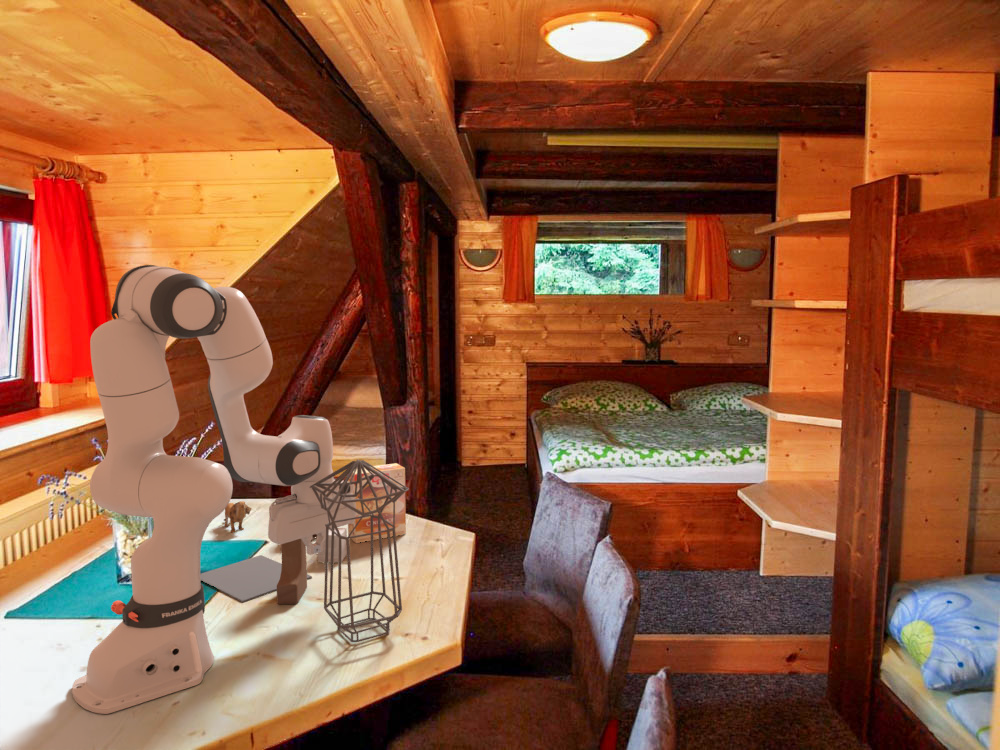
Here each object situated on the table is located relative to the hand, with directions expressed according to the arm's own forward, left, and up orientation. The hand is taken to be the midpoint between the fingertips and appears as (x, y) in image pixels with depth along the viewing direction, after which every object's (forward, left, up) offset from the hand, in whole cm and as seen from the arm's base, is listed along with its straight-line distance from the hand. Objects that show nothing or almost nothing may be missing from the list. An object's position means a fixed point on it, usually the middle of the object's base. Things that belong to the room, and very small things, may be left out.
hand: (314, 552), depth 152 cm
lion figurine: (+17, +63, -12) cm, 66 cm away
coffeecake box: (+39, +26, -12) cm, 48 cm away
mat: (0, +25, -12) cm, 28 cm away
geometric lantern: (-1, -17, -12) cm, 21 cm away
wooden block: (0, +9, -12) cm, 15 cm away
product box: (+20, +21, -12) cm, 31 cm away
